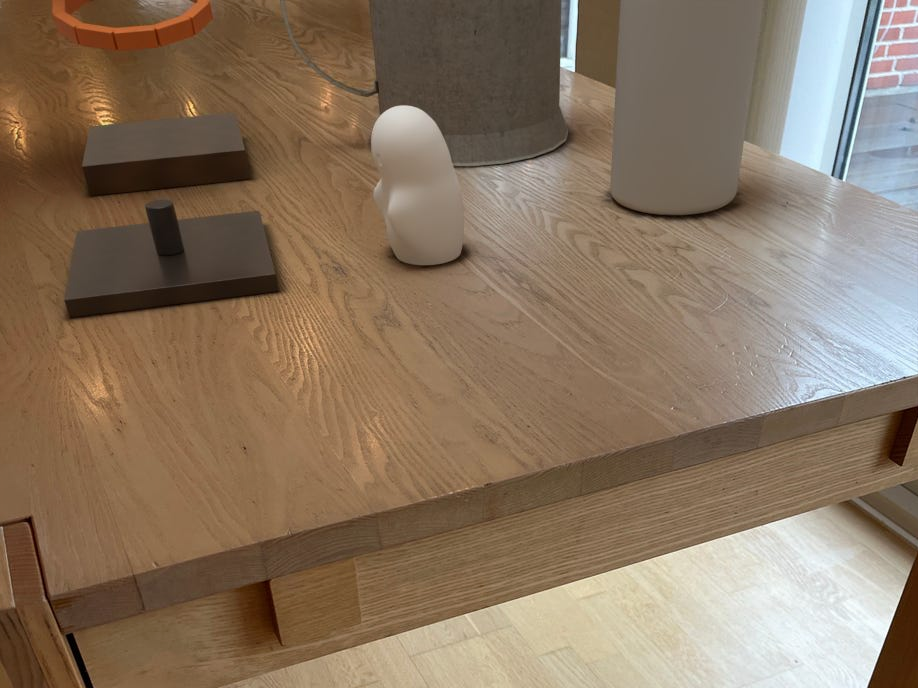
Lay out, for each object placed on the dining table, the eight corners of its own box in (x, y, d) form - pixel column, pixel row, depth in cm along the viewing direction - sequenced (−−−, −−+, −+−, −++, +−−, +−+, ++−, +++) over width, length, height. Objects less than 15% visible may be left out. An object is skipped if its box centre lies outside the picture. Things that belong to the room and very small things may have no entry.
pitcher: (589, 155, 107) (601, -130, 90) (306, 182, 103) (263, -110, 86) (543, 104, 124) (545, -145, 107) (298, 125, 120) (261, -129, 103)
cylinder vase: (706, 173, 101) (742, -129, 84) (756, 210, 92) (808, -121, 75) (593, 185, 99) (607, -122, 82) (633, 223, 90) (658, -113, 73)
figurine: (373, 246, 88) (358, 100, 80) (452, 235, 89) (445, 90, 81) (392, 273, 82) (378, 120, 74) (475, 261, 84) (470, 109, 76)
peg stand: (69, 317, 77) (47, 249, 74) (81, 247, 90) (62, 185, 86) (278, 291, 80) (266, 224, 77) (262, 226, 93) (251, 165, 89)
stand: (90, 196, 101) (81, 166, 99) (97, 153, 114) (89, 126, 112) (250, 179, 104) (245, 149, 102) (240, 139, 117) (235, 112, 115)
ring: (57, 56, 91) (51, 38, 90) (58, -7, 99) (53, -25, 98) (218, 42, 93) (214, 24, 92) (205, -18, 102) (202, -35, 101)
